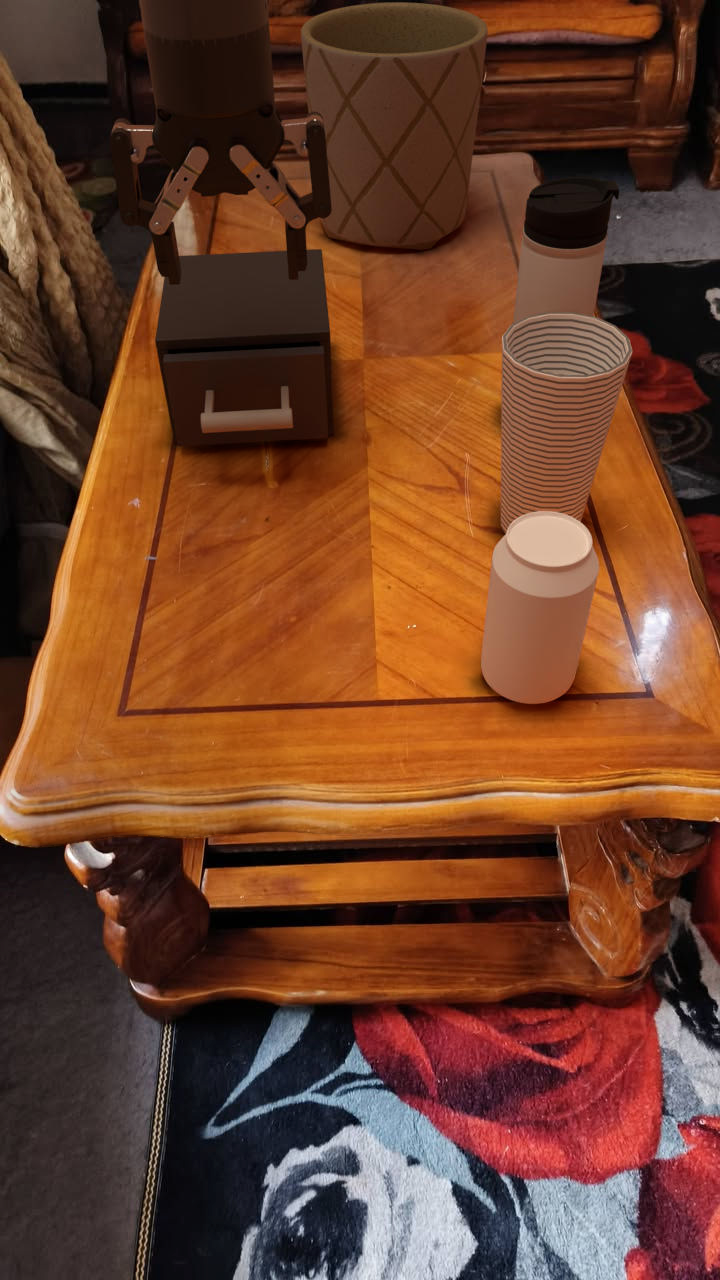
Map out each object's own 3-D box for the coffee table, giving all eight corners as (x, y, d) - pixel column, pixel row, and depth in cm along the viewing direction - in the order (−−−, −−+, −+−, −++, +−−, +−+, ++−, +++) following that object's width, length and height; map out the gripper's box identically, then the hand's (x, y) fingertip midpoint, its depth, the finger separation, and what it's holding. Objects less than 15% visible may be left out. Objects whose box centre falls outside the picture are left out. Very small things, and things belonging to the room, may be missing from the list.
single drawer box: (334, 435, 83) (330, 331, 76) (174, 444, 82) (154, 340, 75) (326, 347, 93) (321, 248, 86) (183, 355, 92) (167, 256, 85)
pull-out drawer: (331, 473, 77) (327, 387, 72) (175, 482, 77) (158, 396, 71) (321, 354, 90) (316, 273, 84) (187, 361, 90) (173, 281, 84)
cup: (575, 486, 77) (608, 306, 66) (609, 555, 71) (651, 370, 60) (472, 497, 76) (488, 316, 65) (498, 568, 71) (520, 383, 59)
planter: (450, 269, 104) (461, 62, 89) (287, 247, 108) (272, 46, 94) (490, 200, 116) (506, 8, 102) (342, 182, 120) (337, -4, 106)
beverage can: (575, 716, 61) (607, 578, 52) (477, 707, 62) (493, 570, 53) (572, 645, 65) (601, 506, 56) (481, 638, 66) (496, 500, 57)
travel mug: (583, 441, 81) (627, 202, 67) (506, 442, 82) (532, 203, 67) (573, 401, 86) (612, 168, 71) (499, 401, 86) (523, 169, 71)
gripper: (76, 38, 54) (130, 307, 66) (327, 28, 55) (336, 298, 66) (92, 2, 59) (140, 258, 71) (322, -6, 60) (331, 250, 72)
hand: (235, 277), depth 69 cm, fingers open, 8 cm apart
